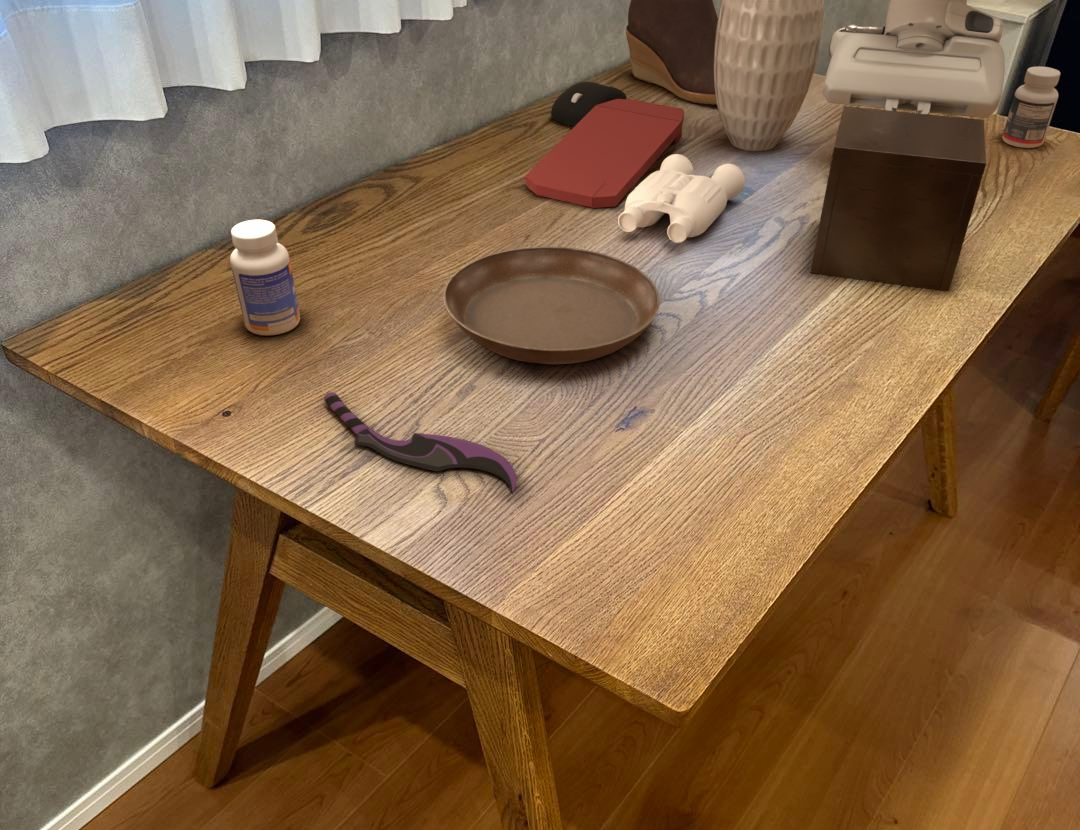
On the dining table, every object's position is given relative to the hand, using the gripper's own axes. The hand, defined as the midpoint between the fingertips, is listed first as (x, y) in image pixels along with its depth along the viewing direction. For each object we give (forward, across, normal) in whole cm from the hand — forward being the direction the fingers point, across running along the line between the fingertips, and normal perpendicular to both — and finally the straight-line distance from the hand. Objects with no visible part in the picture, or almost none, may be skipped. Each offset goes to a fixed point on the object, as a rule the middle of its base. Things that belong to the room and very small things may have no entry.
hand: (900, 142), depth 121 cm
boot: (-15, -30, +22) cm, 40 cm away
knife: (+51, -35, -44) cm, 76 cm away
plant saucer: (+35, -30, -28) cm, 54 cm away
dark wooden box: (+18, 0, -11) cm, 21 cm away
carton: (+7, -34, 0) cm, 35 cm away
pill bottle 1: (+41, -56, -34) cm, 77 cm away
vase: (-2, -18, +10) cm, 21 cm away
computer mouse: (-5, -41, +12) cm, 43 cm away
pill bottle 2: (-10, +16, +17) cm, 26 cm away
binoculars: (+16, -23, -9) cm, 29 cm away
